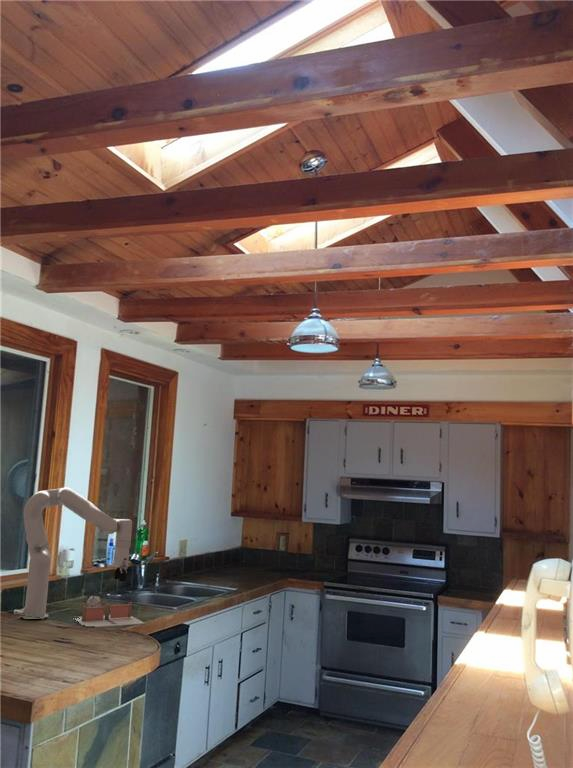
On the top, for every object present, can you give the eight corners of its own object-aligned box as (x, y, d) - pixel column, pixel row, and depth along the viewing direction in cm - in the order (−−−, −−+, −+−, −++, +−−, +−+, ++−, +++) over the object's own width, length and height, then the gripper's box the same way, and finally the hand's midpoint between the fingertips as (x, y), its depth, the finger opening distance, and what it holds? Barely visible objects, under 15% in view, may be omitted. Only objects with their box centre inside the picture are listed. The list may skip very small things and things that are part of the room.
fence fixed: (82, 621, 314) (83, 606, 315) (80, 620, 315) (82, 605, 316) (109, 619, 321) (110, 604, 322) (108, 618, 322) (109, 603, 324)
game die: (95, 618, 343) (108, 601, 347) (92, 615, 335) (105, 598, 340) (82, 608, 345) (95, 591, 349) (78, 604, 337) (92, 588, 342)
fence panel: (110, 618, 321) (111, 604, 322) (109, 617, 323) (110, 603, 324) (131, 617, 327) (132, 603, 328) (130, 616, 328) (131, 602, 330)
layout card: (86, 628, 302) (86, 627, 302) (71, 618, 322) (71, 617, 322) (144, 623, 317) (144, 622, 317) (127, 614, 337) (127, 613, 337)
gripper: (109, 542, 341) (106, 578, 338) (121, 545, 327) (118, 582, 324) (124, 542, 345) (121, 577, 342) (136, 545, 331) (133, 582, 328)
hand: (119, 579), depth 333 cm, fingers open, 7 cm apart
